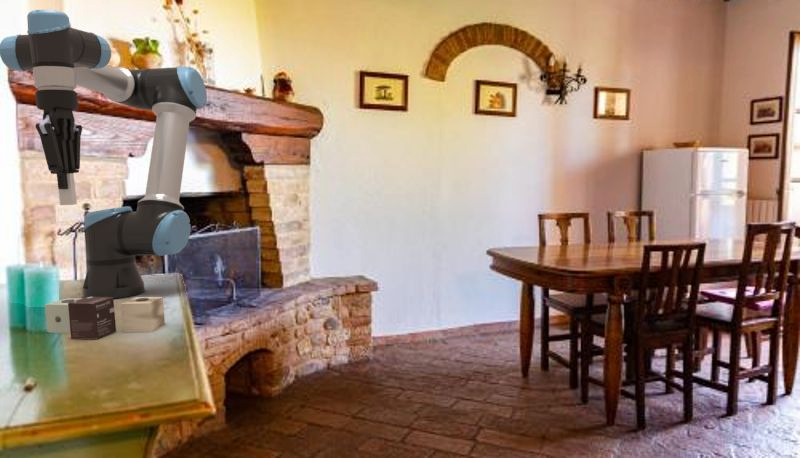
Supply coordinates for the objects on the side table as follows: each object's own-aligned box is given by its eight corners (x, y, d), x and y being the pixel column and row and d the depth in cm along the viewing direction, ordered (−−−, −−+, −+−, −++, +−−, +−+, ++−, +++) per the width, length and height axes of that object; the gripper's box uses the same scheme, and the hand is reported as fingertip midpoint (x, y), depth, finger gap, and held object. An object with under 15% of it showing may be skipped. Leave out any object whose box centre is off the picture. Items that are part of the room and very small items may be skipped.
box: (96, 340, 118) (93, 303, 117) (69, 339, 119) (66, 302, 118) (117, 331, 124) (114, 296, 123) (91, 331, 125) (88, 296, 124)
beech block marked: (137, 324, 129) (135, 296, 128) (164, 324, 128) (162, 295, 128) (123, 332, 123) (120, 302, 122) (151, 332, 123) (149, 302, 122)
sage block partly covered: (69, 325, 130) (66, 297, 130) (92, 326, 129) (90, 297, 128) (46, 333, 124) (43, 303, 124) (71, 334, 123) (68, 304, 122)
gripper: (56, 93, 130) (68, 202, 133) (17, 87, 117) (31, 208, 120) (90, 92, 130) (102, 201, 133) (55, 86, 117) (68, 207, 120)
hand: (68, 204), depth 127 cm, fingers closed
